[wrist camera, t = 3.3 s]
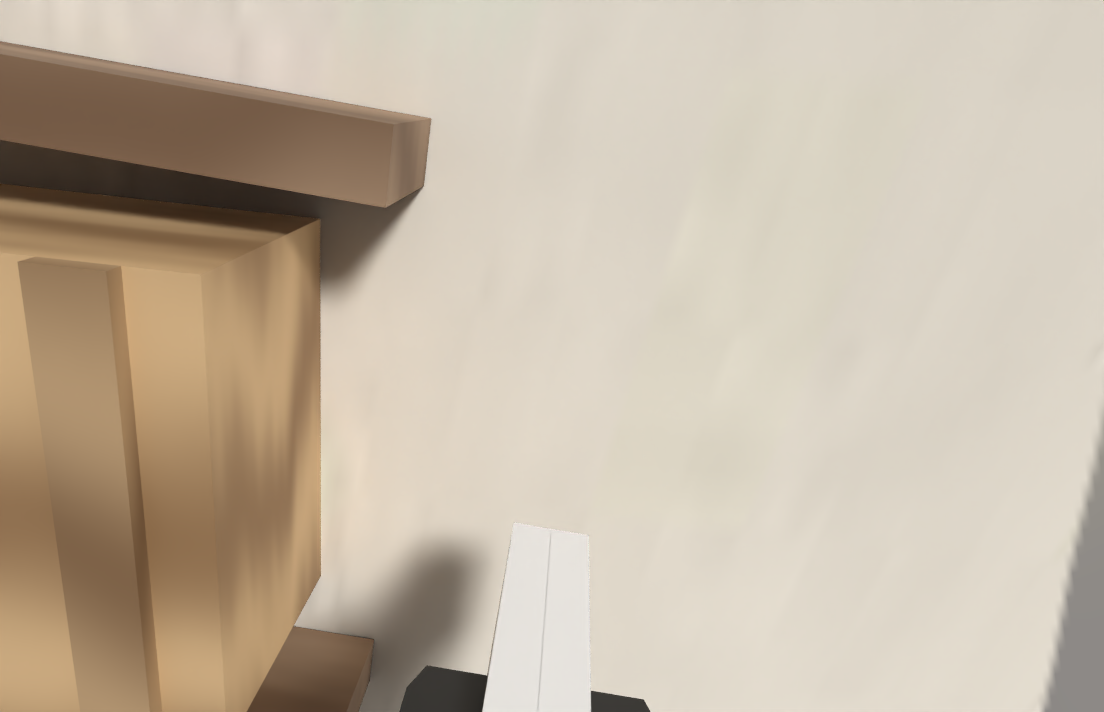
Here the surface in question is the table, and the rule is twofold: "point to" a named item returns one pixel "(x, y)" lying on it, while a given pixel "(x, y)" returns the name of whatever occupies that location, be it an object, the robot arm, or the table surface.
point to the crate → (154, 449)
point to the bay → (243, 156)
